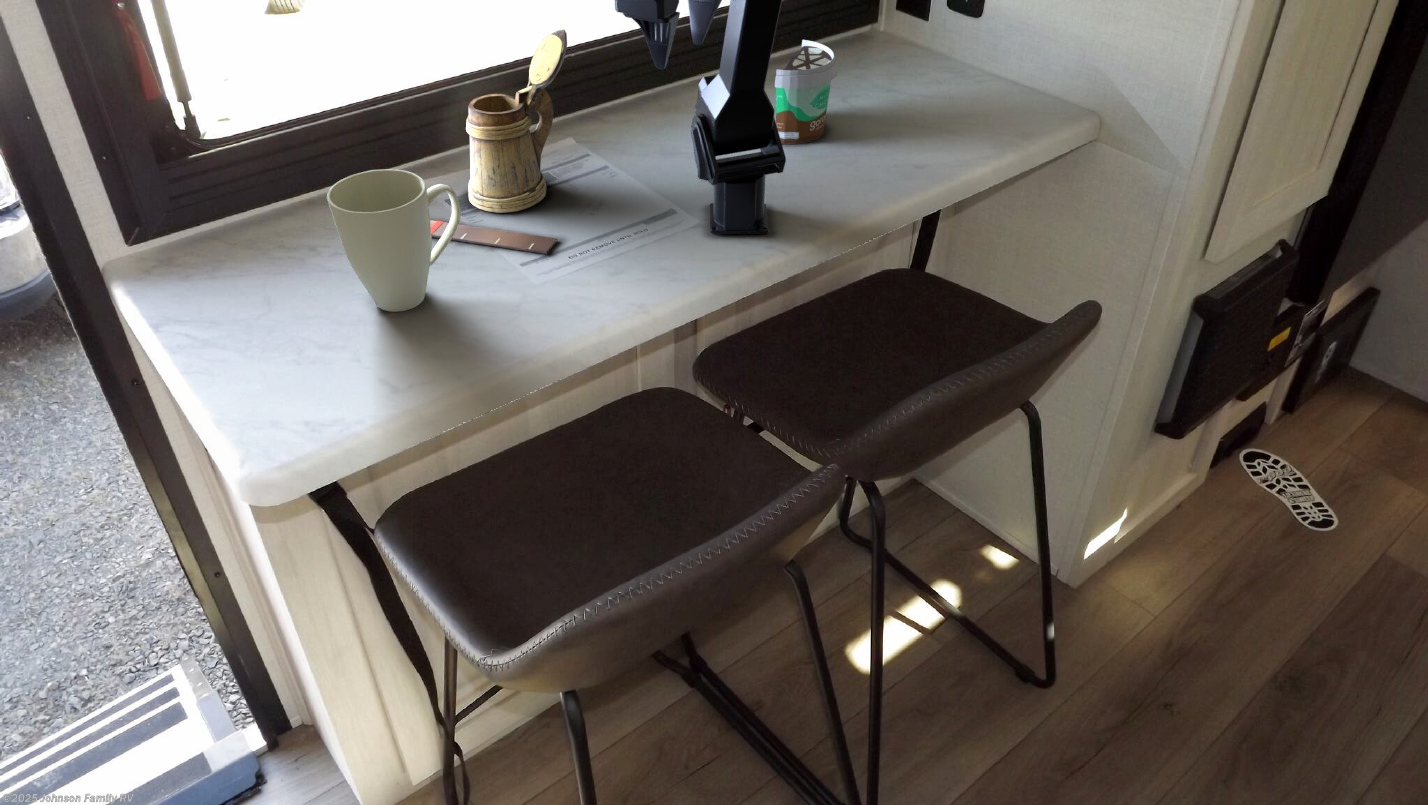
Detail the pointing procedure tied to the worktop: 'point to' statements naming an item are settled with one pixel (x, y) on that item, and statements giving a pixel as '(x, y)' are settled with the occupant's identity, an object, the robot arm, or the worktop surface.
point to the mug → (390, 232)
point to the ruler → (495, 237)
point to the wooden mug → (513, 136)
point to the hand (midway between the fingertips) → (679, 55)
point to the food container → (804, 93)
